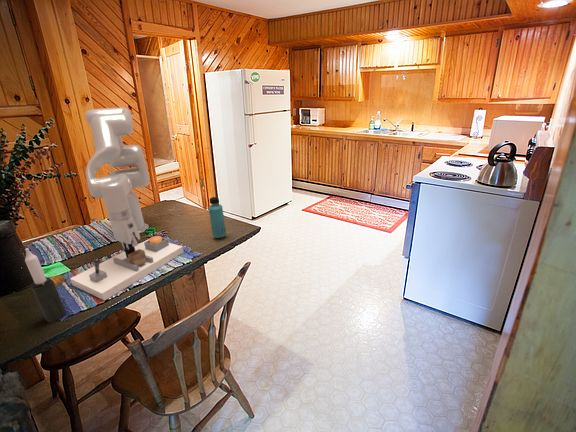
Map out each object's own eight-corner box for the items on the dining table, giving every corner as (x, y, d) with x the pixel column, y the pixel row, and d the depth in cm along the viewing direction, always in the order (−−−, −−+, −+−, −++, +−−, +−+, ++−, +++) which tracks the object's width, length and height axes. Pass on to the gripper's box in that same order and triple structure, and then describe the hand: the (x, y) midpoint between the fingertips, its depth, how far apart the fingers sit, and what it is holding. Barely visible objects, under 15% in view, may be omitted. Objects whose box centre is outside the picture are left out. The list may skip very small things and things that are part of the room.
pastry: (59, 277, 120) (56, 269, 119) (69, 282, 117) (66, 273, 116) (32, 291, 113) (28, 282, 111) (41, 296, 110) (38, 287, 108)
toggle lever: (92, 272, 111) (92, 259, 107) (98, 270, 113) (97, 256, 109) (96, 276, 111) (96, 262, 107) (101, 273, 113) (101, 259, 109)
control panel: (72, 285, 115) (67, 271, 112) (153, 243, 143) (150, 231, 141) (104, 300, 105) (99, 286, 103) (183, 252, 134) (181, 240, 132)
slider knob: (131, 265, 119) (127, 254, 117) (142, 259, 123) (139, 248, 121) (135, 267, 118) (132, 256, 116) (147, 261, 122) (144, 250, 120)
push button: (148, 247, 133) (146, 239, 131) (158, 242, 137) (156, 234, 135) (156, 250, 130) (154, 242, 129) (165, 245, 134) (164, 237, 133)
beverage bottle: (223, 241, 142) (218, 200, 135) (210, 240, 144) (204, 200, 136) (229, 234, 148) (223, 195, 140) (216, 234, 150) (210, 195, 142)
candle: (61, 308, 102) (33, 242, 93) (67, 314, 100) (40, 246, 90) (43, 317, 99) (12, 249, 89) (49, 323, 96) (18, 254, 86)
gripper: (141, 213, 113) (152, 256, 121) (116, 207, 120) (128, 248, 128) (122, 221, 108) (135, 265, 115) (98, 214, 114) (111, 256, 122)
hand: (131, 256), depth 121 cm, fingers closed
